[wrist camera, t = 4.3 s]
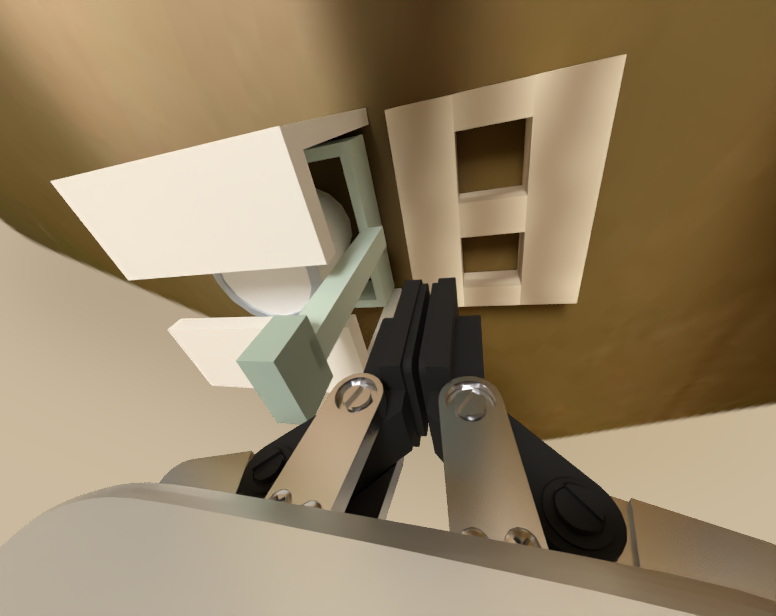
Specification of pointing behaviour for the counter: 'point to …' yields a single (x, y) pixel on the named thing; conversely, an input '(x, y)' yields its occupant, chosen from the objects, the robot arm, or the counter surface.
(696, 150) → the counter surface
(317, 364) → the slider
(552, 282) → the board
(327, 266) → the white cup
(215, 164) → the tunnel
